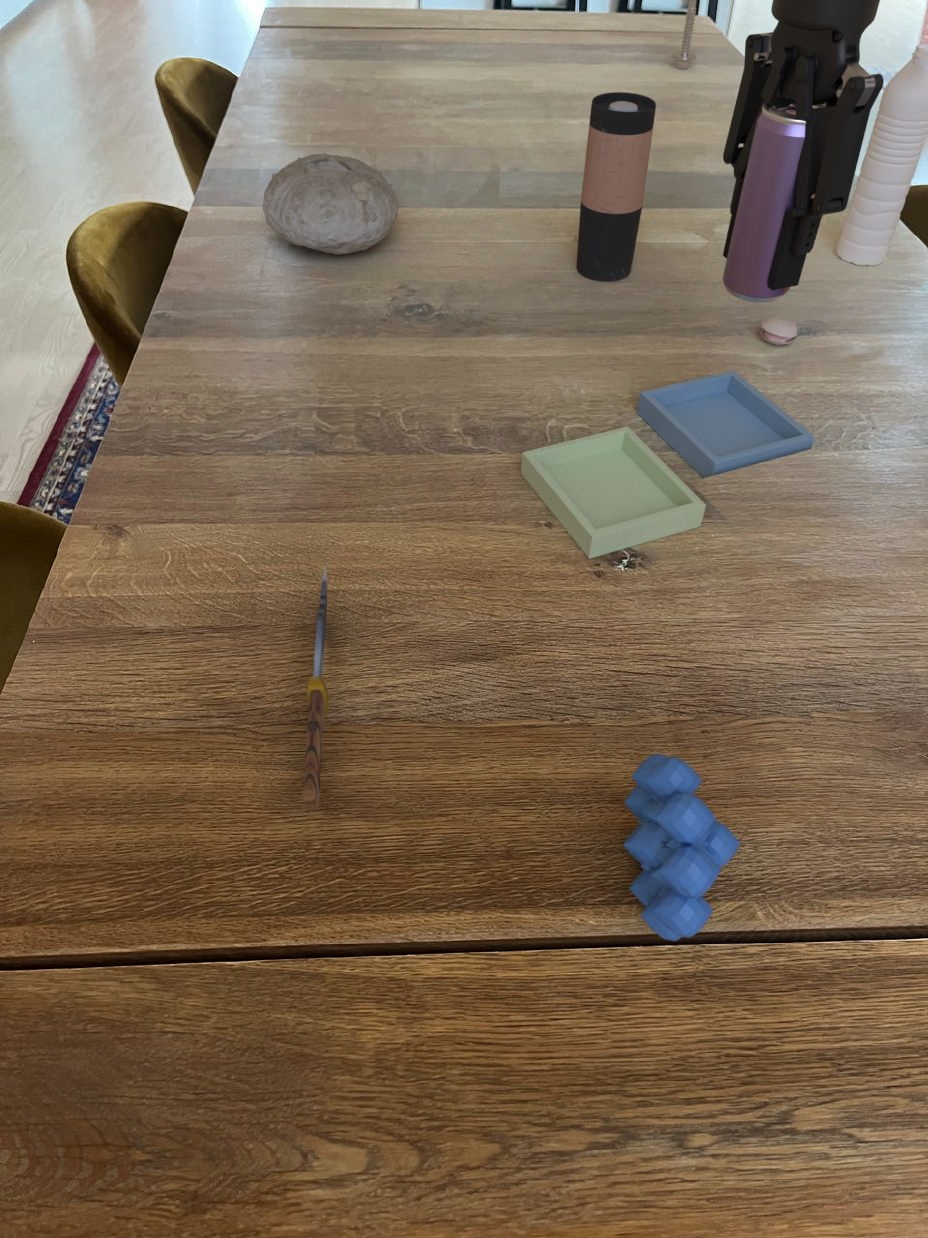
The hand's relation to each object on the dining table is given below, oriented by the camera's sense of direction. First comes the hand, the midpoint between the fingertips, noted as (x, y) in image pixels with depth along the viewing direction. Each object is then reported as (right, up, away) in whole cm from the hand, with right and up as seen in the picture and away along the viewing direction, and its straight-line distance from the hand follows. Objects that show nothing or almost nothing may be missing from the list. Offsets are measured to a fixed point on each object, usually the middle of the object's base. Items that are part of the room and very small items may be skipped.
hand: (759, 269), depth 84 cm
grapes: (-14, -49, -25) cm, 56 cm away
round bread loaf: (-44, +20, +44) cm, 65 cm away
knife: (-37, -37, -13) cm, 54 cm away
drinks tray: (0, -12, +12) cm, 17 cm away
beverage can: (0, -1, +1) cm, 2 cm away
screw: (+18, +80, +106) cm, 133 cm away
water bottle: (+27, +17, +43) cm, 53 cm away
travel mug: (-8, +14, +39) cm, 43 cm away
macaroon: (+11, +2, +27) cm, 29 cm away
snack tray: (-13, -20, +4) cm, 24 cm away
